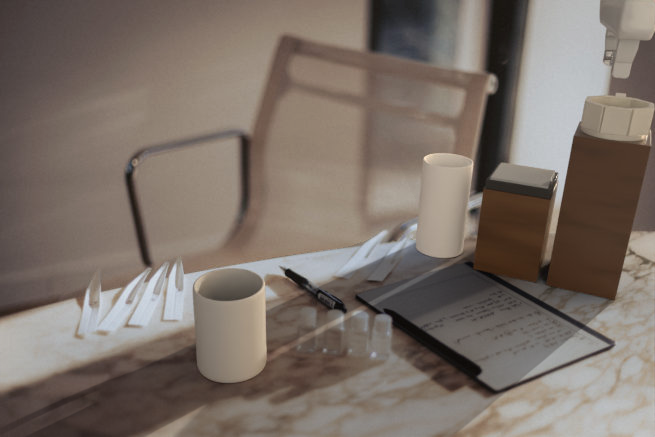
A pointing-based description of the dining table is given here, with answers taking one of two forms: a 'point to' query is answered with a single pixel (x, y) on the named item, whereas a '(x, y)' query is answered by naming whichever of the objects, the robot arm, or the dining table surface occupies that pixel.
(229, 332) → the mug
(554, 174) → the scale
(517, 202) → the stand
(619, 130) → the cream rounded piece
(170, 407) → the dining table surface
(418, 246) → the cup
